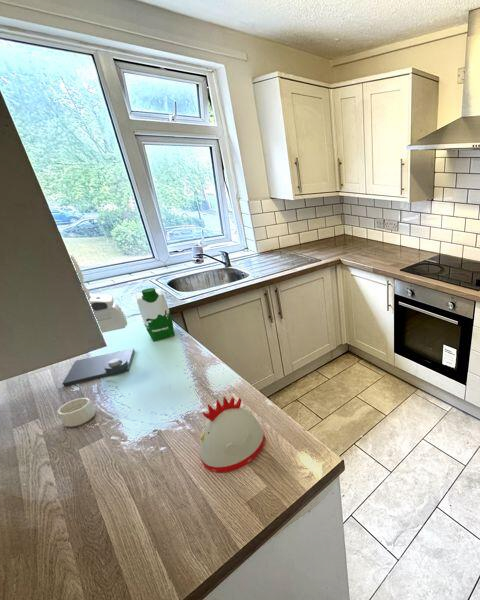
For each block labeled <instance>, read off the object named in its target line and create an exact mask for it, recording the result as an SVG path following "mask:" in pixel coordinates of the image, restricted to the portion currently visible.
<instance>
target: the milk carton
mask: <svg viewBox="0 0 480 600" xmlns="http://www.w3.org/2000/svg"><path fill="white" fill-rule="evenodd" d="M135 298H136V303H137V305H138V310H139V313H140V315H141V319H142V321H143V324H144V327H145V329H146V331H147V333H148V335H149V336H150V338H151V340H152V342H153V343H154V342H157V341H160V340H165V339H168V338H172V337H175V329H174V322H173V317H172V315H171V311H170V308H169V305H168V302H167V300H166V296H165V293H164V292H163V291H162V289H161V288H154V287H150V288H149V287H148V288H145V289H143V290H142V291H141V292H136V297H135Z"/></svg>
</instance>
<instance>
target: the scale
mask: <svg viewBox="0 0 480 600" xmlns="http://www.w3.org/2000/svg"><path fill="white" fill-rule="evenodd" d="M135 352H136V351H135V348H133V347H132V348H128V349H123V350H120V351H114V352H110V353H105V354H101V355H95V356H91V357H86V358H82V359H77V360H75V361H74V362H73V364H72V366H71V367H70V370H69V372H68V373H67V374H66V376H65V378H64V380H63V381H62V385H63V387H64V388H65V387H70V386H74V385H79V384H82V383H86V382H90V381H91V382H92V381H94V380H98V379H103V378H108V377H111V376H115V375H119V374H120V375H121V374H123V373H128V372H130V369H131V366H132V363H133V359H134V355H135ZM115 358H119V359H120V361H121V364H119V365H117V366H113V367H111V366H110V364H109V361H110V360H112V359H115Z"/></svg>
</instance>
